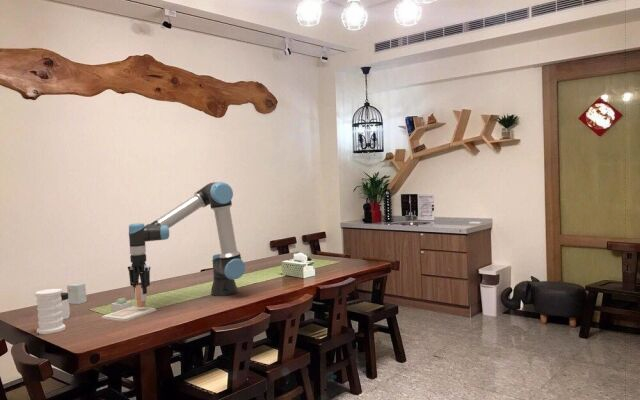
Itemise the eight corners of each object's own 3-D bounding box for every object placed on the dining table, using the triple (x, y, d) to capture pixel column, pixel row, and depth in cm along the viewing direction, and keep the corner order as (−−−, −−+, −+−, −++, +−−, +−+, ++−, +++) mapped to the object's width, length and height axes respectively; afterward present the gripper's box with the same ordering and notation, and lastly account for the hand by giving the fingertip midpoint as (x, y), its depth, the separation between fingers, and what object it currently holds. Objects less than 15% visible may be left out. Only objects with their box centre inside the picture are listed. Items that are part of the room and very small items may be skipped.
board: (156, 310, 258) (156, 308, 258) (125, 321, 240) (125, 318, 240) (133, 308, 265) (133, 306, 265) (101, 318, 247) (101, 316, 247)
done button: (127, 305, 266) (127, 298, 266) (121, 307, 262) (121, 300, 262) (122, 305, 268) (121, 297, 267) (115, 307, 264) (115, 299, 264)
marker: (147, 305, 257) (145, 282, 256) (141, 307, 253) (139, 283, 253) (141, 304, 259) (140, 281, 258) (135, 306, 255) (133, 283, 255)
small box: (86, 301, 286) (85, 283, 285) (79, 304, 280) (77, 285, 280) (75, 301, 288) (74, 283, 288) (67, 303, 283) (66, 285, 282)
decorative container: (30, 333, 227) (28, 293, 227) (52, 325, 238) (50, 287, 237) (49, 334, 223) (47, 294, 222) (71, 327, 234) (68, 288, 233)
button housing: (132, 307, 266) (132, 301, 266) (121, 311, 260) (121, 304, 260) (122, 306, 270) (122, 300, 270) (111, 310, 263) (110, 303, 263)
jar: (66, 314, 258) (64, 291, 257) (73, 317, 252) (72, 293, 252) (47, 319, 251) (46, 295, 250) (54, 321, 246) (53, 297, 245)
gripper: (155, 253, 254) (158, 299, 256) (131, 252, 262) (134, 297, 263) (144, 255, 248) (147, 302, 249) (120, 254, 255) (123, 300, 256)
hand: (140, 299), depth 256 cm, fingers closed on marker, 3 cm apart
